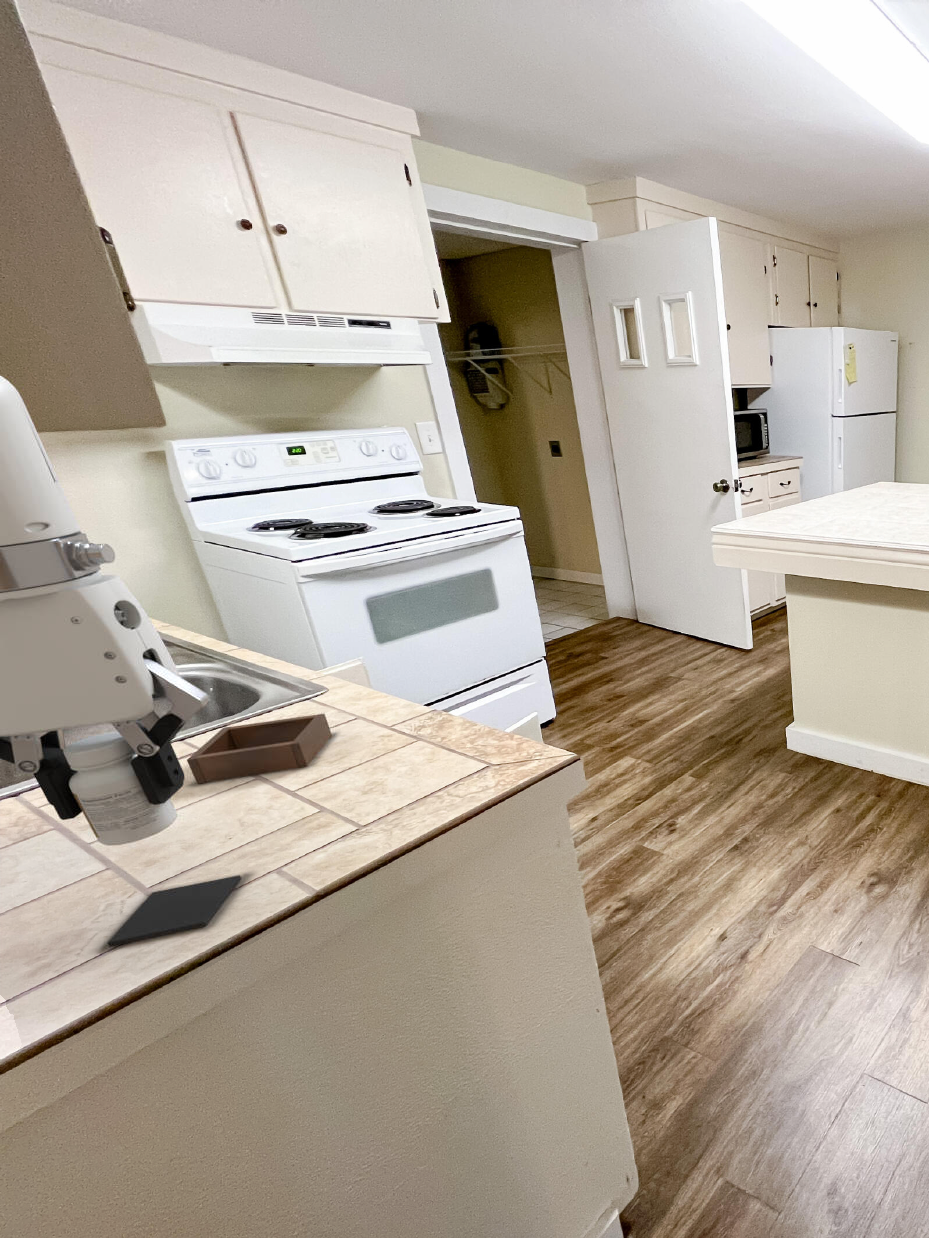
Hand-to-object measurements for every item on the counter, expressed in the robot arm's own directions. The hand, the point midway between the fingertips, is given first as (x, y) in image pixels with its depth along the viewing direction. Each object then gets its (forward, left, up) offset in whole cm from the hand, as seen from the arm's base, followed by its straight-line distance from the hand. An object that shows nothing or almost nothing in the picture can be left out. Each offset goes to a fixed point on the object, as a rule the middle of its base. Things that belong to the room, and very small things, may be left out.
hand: (124, 799), depth 52 cm
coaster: (0, 0, -11) cm, 11 cm away
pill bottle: (0, 0, -3) cm, 3 cm away
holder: (-4, +28, -11) cm, 30 cm away
